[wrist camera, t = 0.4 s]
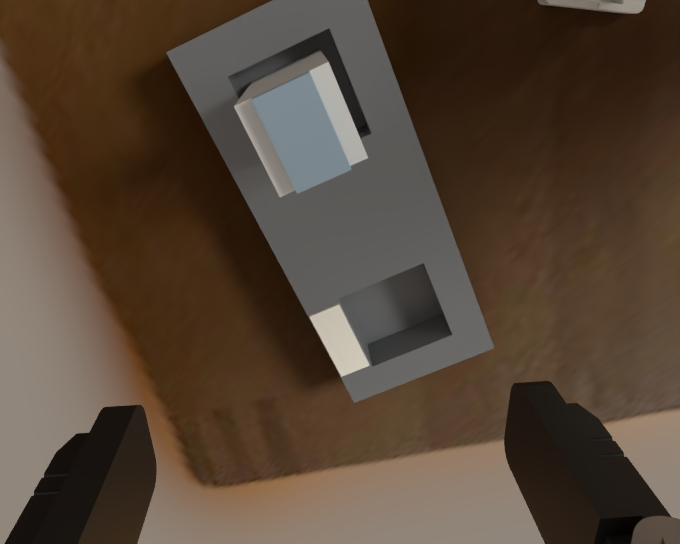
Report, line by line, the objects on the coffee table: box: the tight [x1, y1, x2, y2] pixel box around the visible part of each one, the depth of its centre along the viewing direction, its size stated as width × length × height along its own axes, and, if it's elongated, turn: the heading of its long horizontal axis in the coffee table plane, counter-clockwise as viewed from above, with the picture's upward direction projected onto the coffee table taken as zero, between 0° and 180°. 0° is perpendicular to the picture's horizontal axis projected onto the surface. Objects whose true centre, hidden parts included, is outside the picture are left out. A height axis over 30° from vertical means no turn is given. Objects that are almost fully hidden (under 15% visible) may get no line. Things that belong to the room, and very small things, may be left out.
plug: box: [234, 49, 368, 197], centre depth 26 cm, size 4×4×11 cm
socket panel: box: [166, 0, 494, 403], centre depth 32 cm, size 10×24×4 cm, turn 23°
